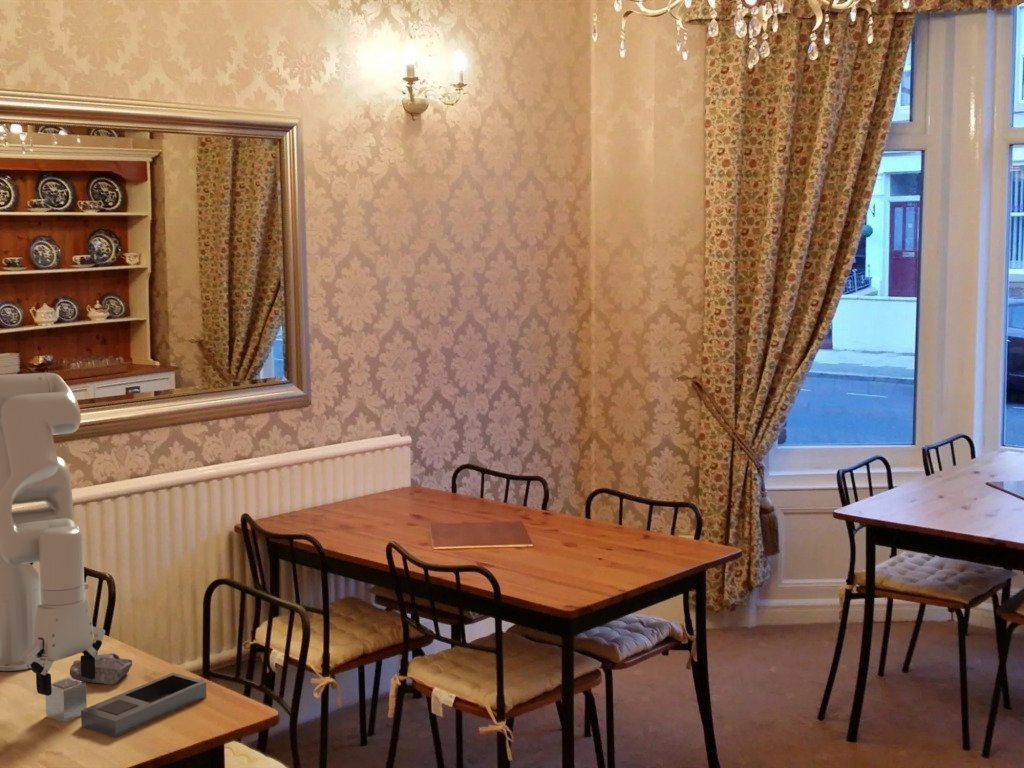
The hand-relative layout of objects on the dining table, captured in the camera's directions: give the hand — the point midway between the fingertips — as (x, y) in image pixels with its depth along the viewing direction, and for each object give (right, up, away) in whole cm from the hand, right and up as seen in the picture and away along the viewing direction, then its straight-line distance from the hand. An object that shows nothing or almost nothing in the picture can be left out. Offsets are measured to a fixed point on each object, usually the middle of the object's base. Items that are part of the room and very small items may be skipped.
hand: (66, 685), depth 216 cm
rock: (0, -4, +20) cm, 20 cm away
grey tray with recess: (+13, -6, +4) cm, 15 cm away
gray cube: (-1, -6, +1) cm, 6 cm away
